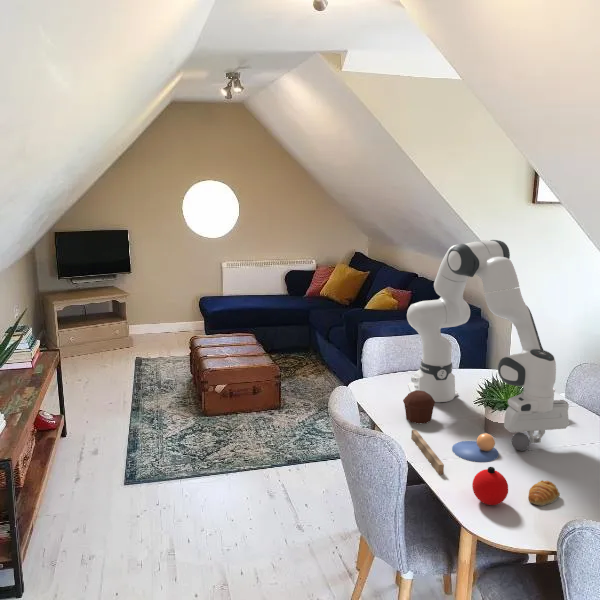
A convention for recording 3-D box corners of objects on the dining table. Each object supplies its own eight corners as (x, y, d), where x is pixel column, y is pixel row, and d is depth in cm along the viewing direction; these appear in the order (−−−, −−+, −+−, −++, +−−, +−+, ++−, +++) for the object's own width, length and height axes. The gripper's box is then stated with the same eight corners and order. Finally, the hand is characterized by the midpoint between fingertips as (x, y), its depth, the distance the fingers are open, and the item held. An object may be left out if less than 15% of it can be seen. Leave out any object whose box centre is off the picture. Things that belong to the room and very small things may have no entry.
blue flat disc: (445, 443, 183) (445, 442, 183) (485, 440, 185) (486, 439, 185) (463, 463, 170) (463, 463, 170) (506, 460, 172) (507, 459, 172)
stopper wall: (411, 438, 187) (411, 429, 186) (415, 438, 187) (416, 429, 187) (438, 474, 164) (438, 464, 163) (443, 474, 164) (443, 464, 163)
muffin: (408, 410, 210) (409, 384, 208) (438, 415, 205) (439, 389, 203) (398, 421, 200) (399, 395, 198) (429, 428, 195) (430, 400, 193)
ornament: (482, 489, 155) (484, 456, 153) (513, 502, 149) (516, 468, 147) (464, 502, 150) (466, 467, 147) (496, 516, 143) (498, 480, 141)
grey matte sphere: (526, 432, 181) (514, 445, 182) (516, 426, 178) (504, 439, 180) (536, 444, 176) (524, 456, 177) (526, 437, 174) (514, 450, 175)
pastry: (546, 511, 145) (547, 498, 145) (521, 501, 150) (522, 488, 149) (560, 497, 152) (561, 484, 151) (535, 488, 156) (536, 475, 156)
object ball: (492, 441, 181) (477, 449, 181) (486, 427, 180) (471, 435, 180) (500, 449, 176) (484, 457, 175) (494, 434, 174) (478, 442, 174)
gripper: (562, 395, 182) (559, 435, 184) (503, 399, 179) (500, 440, 182) (574, 403, 175) (571, 444, 178) (513, 407, 173) (510, 448, 176)
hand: (534, 442), depth 180 cm, fingers closed
